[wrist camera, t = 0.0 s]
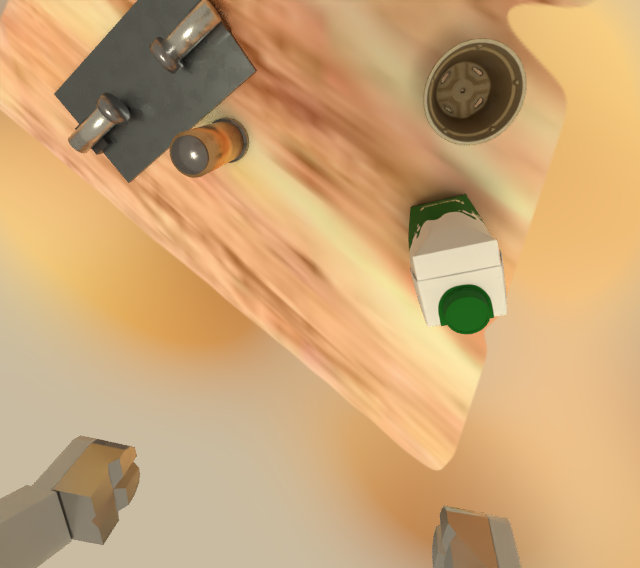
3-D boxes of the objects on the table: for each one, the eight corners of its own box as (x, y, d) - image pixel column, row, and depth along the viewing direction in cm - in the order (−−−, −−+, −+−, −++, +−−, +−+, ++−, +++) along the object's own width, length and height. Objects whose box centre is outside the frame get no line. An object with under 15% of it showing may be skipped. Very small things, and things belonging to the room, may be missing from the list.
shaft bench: (182, -47, 47) (160, -59, 43) (259, 68, 51) (247, 67, 47) (54, 96, 57) (26, 97, 52) (128, 183, 60) (107, 192, 56)
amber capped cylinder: (208, 116, 54) (162, 126, 44) (248, 120, 54) (212, 131, 43) (210, 159, 57) (167, 178, 46) (248, 163, 56) (214, 183, 46)
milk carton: (415, 263, 59) (423, 344, 41) (401, 200, 55) (404, 260, 37) (482, 250, 56) (521, 330, 39) (472, 183, 53) (509, 238, 35)
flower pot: (488, 141, 51) (505, 153, 43) (410, 126, 51) (412, 135, 44) (518, 53, 46) (543, 48, 39) (433, 37, 47) (439, 30, 39)
